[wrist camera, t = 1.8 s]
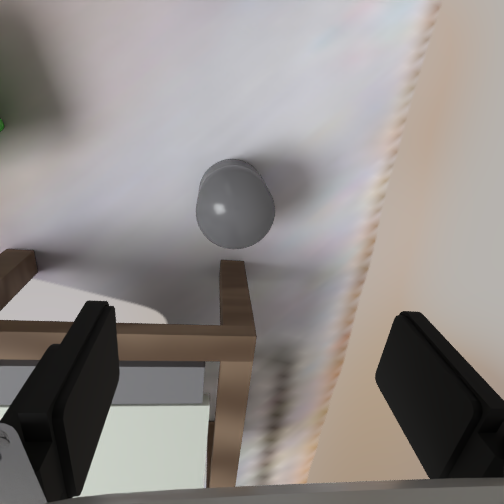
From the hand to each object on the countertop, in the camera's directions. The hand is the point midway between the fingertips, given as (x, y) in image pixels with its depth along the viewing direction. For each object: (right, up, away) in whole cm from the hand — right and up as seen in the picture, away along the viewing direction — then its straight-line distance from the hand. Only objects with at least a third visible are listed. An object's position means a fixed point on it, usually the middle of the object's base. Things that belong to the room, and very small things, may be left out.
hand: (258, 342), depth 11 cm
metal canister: (-2, +8, +15) cm, 17 cm away
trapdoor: (-11, -11, +14) cm, 21 cm away
